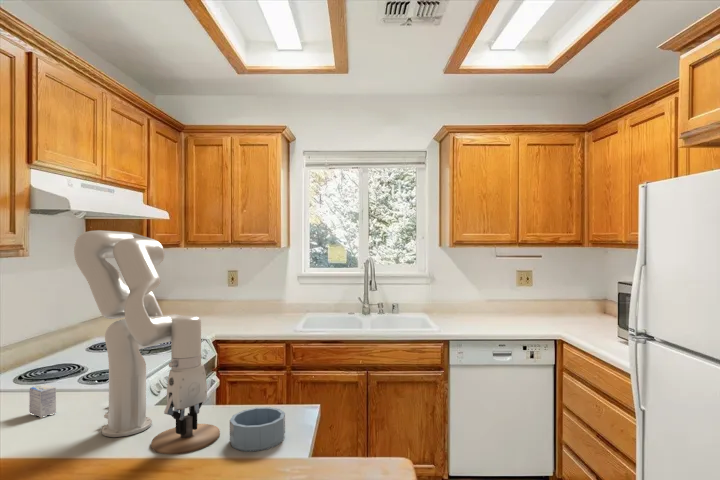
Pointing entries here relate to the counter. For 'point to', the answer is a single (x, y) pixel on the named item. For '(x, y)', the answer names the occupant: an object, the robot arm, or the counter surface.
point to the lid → (185, 438)
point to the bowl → (257, 429)
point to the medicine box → (42, 400)
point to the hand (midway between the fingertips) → (186, 430)
